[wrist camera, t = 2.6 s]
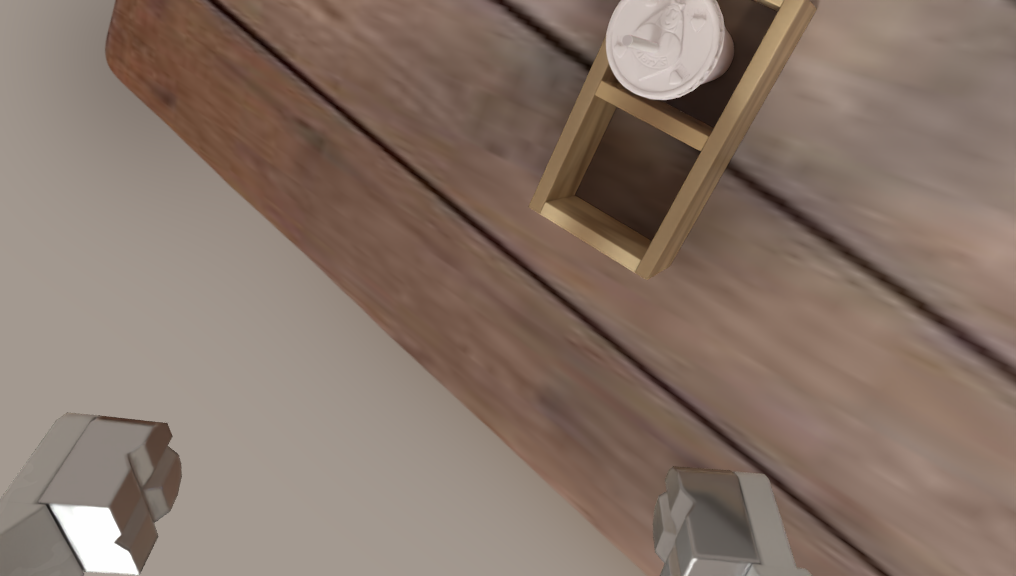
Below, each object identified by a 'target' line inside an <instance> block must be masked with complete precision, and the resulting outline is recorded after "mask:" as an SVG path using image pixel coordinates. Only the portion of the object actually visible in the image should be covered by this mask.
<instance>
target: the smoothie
mask: <svg viewBox="0 0 1016 576" xmlns="http://www.w3.org/2000/svg"><path fill="white" fill-rule="evenodd" d="M606 53H607V58H608V62H609V65H610V67H611V70H612V72H613V73H614V75H615V77H616V78H617V79H618V81H619V82H620V83H621V84H622V85H623V86H624V87H625V88H627V89H628V90H629V91H631V92H633V93H635V94H637V95H639V96H642V97H646V98H649V99H654V100H669V99H673V98H678V97H681V96H683V95H685V94H687V93H689V92H691V91H693V90H695V89H696V88H697V87H698V86H699V85H701V84H704V83H707V82H710V81H713V80H715V79H717V78H719V77H720V76H722V75H723V74H724V73H725V72H726V71H727V69H728V68H729V66H730V65H731V63H732V60H733V57H734V43H733V40H732V37H731V35H730V34H729V32H728V31H727V29H726V27H725V26H724V20H723V15H722V13H721V10H720V8H719V5H718V2H717V1H716V0H621V1H620V2H619V4H618V5H617V7H616V8H615V10H614V12H613V14H612V17H611V19H610V22H609V25H608V29H607V35H606Z"/></svg>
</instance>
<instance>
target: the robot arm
mask: <svg viewBox="0 0 1016 576" xmlns="http://www.w3.org/2000/svg"><path fill="white" fill-rule="evenodd" d="M171 438H172V434H171V432H170V429H169V426H168V424H167V423H162V422H153V421H143V420H135V419H125V418H116V417H107V416H99V415H88V414H77V413H66V414H64V415H63V416H62V417H60V418H59V419H57V420H56V421H55V423H54V424H53V425H52V427H51V429H50V430H49V431H48V433H47V434H46V435H45V437H44V438H43V440H42V441H41V442H40V444H39V445H38V447H37V448H36V449H35V451H34V452H33V454H32V455H31V457H30V458H29V459H28V461H27V462H26V464H25V465H24V466H23V468H22V469H21V470H20V472H19V473H18V475H17V476H16V478H15V479H14V480H13V482H12V483H11V485H10V486H9V487H8V489H7V490H6V492H5V493H4V494H3V496H2V497H1V499H0V576H84V572H95V573H114V574H133V575H140V573H141V571H142V569H143V567H144V565H145V562H146V561H147V559H148V557H149V555H150V553H151V550H152V548H153V546H154V544H155V542H156V540H157V538H158V533H157V530H156V527H155V522H156V521H158V520H159V519H160V518H162V517H163V516H164V515H166V514H167V513H168V512H170V510H171V508H172V506H173V504H174V502H175V500H176V497H177V495H178V491H179V486H180V482H181V477H182V472H181V462H180V458H179V455H178V454H177V453H176V452H175V451H174V450H172V449H171V448H170V447H169V446H168V444H169V442H170V440H171ZM665 482H666V489H667V491H666V492H664V493H663V494H661V495H659V497H658V500H657V503H656V506H655V510H654V519H653V539H654V547H655V553H656V554H657V555H658V556H659V557H660V559H661V560H662V561H663V562H664V563H665V564H664V567H663V569H662V571H661V574H660V576H812V575H811V574H810V572H809V571H808V570H807V569H804V568H797V567H796V564H795V561H794V557H793V554H792V551H791V548H790V545H789V541H788V538H787V535H786V532H785V529H784V525H783V522H782V519H781V516H780V512H779V509H778V506H777V503H776V500H775V496H774V493H773V490H772V487H771V484H770V480H769V479H768V478H767V477H766V475H765V474H759V473H746V472H732V471H731V470H718V469H704V468H690V467H677V466H673V467H672V468H670V469H669V471H668V473H667V476H666V478H665Z"/></svg>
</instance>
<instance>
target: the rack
mask: <svg viewBox="0 0 1016 576" xmlns="http://www.w3.org/2000/svg"><path fill="white" fill-rule="evenodd" d="M753 1H755V2H757V3H760V4H762V5H764V6H766V7H769V8H771V9H773V10H775V11H778V12H777V14H776V16H775V18H774V20H773V22H772V23H771V25H770V27H769V29H768V31H767V32H766V34H765V36H764V38H763V40H762V42H761V43H760V45H759V47H758V49H757V51H756V52H755V54H754V56H753V58H752V60H751V62H750V63H749V65H748V67H747V69H746V71H745V72H744V74H743V76H742V78H741V80H740V82H739V83H738V85H737V87H736V89H735V91H734V92H733V94H732V96H731V98H730V100H729V102H728V103H727V105H726V107H725V109H724V111H723V113H722V114H721V116H720V118H719V120H718V122H717V123H716V125H715V127H714V128H713V127H711V126H709V125H707V124H705V123H703V122H701V121H699V120H697V119H696V118H694V117H692V116H690V115H688V114H686V113H684V112H682V111H680V110H678V109H676V108H674V107H672V106H670V105H668V104H666V103H665V102H663V101H661V100H654V99H649V98H646V97H642V96H639V95H637V94H635V93H633V92H631V91H629V90H628V89H627V88H625V87H624V86H623V85H622V84H621V83H620V82H619V81H618V79H617V78H616V77H615V75H614V73H613V72H612V70H611V67H610V65H609V62H608V58H607V53H606V36H605V39H604V41H603V43H602V45H601V47H600V50H599V52H598V54H597V56H596V58H595V61H594V63H593V65H592V67H591V70H590V72H589V74H588V76H587V78H586V81H585V83H584V85H583V87H582V89H581V92H580V94H579V96H578V98H577V101H576V103H575V105H574V107H573V109H572V112H571V114H570V116H569V118H568V120H567V123H566V125H565V127H564V129H563V131H562V134H561V136H560V138H559V140H558V143H557V145H556V147H555V149H554V151H553V154H552V156H551V158H550V160H549V162H548V165H547V167H546V169H545V171H544V174H543V176H542V178H541V180H540V182H539V185H538V187H537V189H536V191H535V193H534V196H533V198H532V200H531V202H530V205H529V208H531V209H532V210H534V211H536V212H537V213H539V214H541V215H542V216H544V217H545V218H547V219H549V220H550V221H552V222H554V223H555V224H557V225H558V226H560V227H562V228H563V229H565V230H566V231H568V232H570V233H571V234H573V235H575V236H576V237H578V238H579V239H581V240H583V241H584V242H586V243H587V244H589V245H591V246H592V247H594V248H596V249H597V250H599V251H600V252H602V253H604V254H605V255H607V256H608V257H610V258H612V259H613V260H615V261H617V262H618V263H620V264H621V265H623V266H625V267H626V268H628V269H629V270H631V271H633V272H635V273H636V274H638V275H639V276H641V277H643V278H644V279H646V280H648V279H650V278H651V277H653V276H655V275H656V274H658V273H660V272H661V271H663V270H665V269H666V268H668V267H670V265H671V263H672V262H673V260H674V258H675V256H676V255H677V253H678V251H679V249H680V248H681V246H682V244H683V242H684V241H685V239H686V237H687V235H688V234H689V232H690V230H691V228H692V227H693V225H694V223H695V221H696V220H697V218H698V216H699V214H700V213H701V211H702V209H703V207H704V206H705V204H706V202H707V200H708V199H709V197H710V195H711V193H712V192H713V190H714V188H715V186H716V185H717V183H718V181H719V179H720V178H721V176H722V174H723V172H724V171H725V169H726V167H727V165H728V164H729V162H730V160H731V158H732V157H733V155H734V153H735V151H736V150H737V148H738V146H739V144H740V143H741V141H742V139H743V137H744V136H745V134H746V132H747V130H748V129H749V127H750V125H751V123H752V122H753V120H754V118H755V116H756V115H757V113H758V111H759V110H760V108H761V106H762V104H763V103H764V101H765V99H766V97H767V96H768V94H769V92H770V90H771V89H772V87H773V85H774V83H775V82H776V80H777V78H778V76H779V75H780V73H781V71H782V69H783V68H784V66H785V64H786V62H787V61H788V59H789V57H790V55H791V54H792V52H793V50H794V48H795V47H796V45H797V43H798V41H799V40H800V38H801V36H802V34H803V33H804V31H805V29H806V27H807V26H808V24H809V22H810V20H811V19H812V17H813V15H814V13H815V12H816V10H817V9H816V7H815V6H814V5H813V4H812V3H811V2H810V0H753ZM606 35H607V34H606ZM617 107H618V108H620V109H622V110H624V111H626V112H628V113H630V114H631V115H633V116H635V117H637V118H639V119H641V120H643V121H645V122H646V123H648V124H650V125H652V126H654V127H656V128H658V129H660V130H661V131H663V132H665V133H667V134H669V135H671V136H673V137H675V138H676V139H678V140H680V141H682V142H684V143H686V144H688V145H690V146H691V147H693V148H695V149H697V150H699V151H701V153H700V154H699V156H698V158H697V160H696V162H695V163H694V165H693V167H692V169H691V171H690V173H689V174H688V176H687V178H686V180H685V182H684V183H683V185H682V187H681V189H680V191H679V193H678V194H677V196H676V198H675V200H674V202H673V204H672V205H671V207H670V209H669V211H668V213H667V214H666V216H665V218H664V220H663V222H662V224H661V225H660V227H659V229H658V231H657V233H656V234H655V236H654V238H653V240H652V241H651V240H649V239H647V238H646V237H644V236H642V235H641V234H639V233H637V232H636V231H634V230H632V229H631V228H629V227H627V226H626V225H624V224H622V223H621V222H619V221H617V220H616V219H614V218H612V217H611V216H609V215H607V214H606V213H604V212H602V211H600V210H599V209H597V208H595V207H594V206H592V205H590V204H589V203H587V202H585V201H584V200H582V199H580V198H579V197H577V196H575V193H576V191H577V189H578V187H579V185H580V183H581V181H582V178H583V176H584V174H585V172H586V170H587V168H588V166H589V164H590V162H591V160H592V158H593V156H594V153H595V151H596V149H597V147H598V145H599V143H600V141H601V139H602V137H603V135H604V133H605V131H606V128H607V126H608V124H609V122H610V120H611V118H612V116H613V114H614V112H615V110H616V108H617Z"/></svg>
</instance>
